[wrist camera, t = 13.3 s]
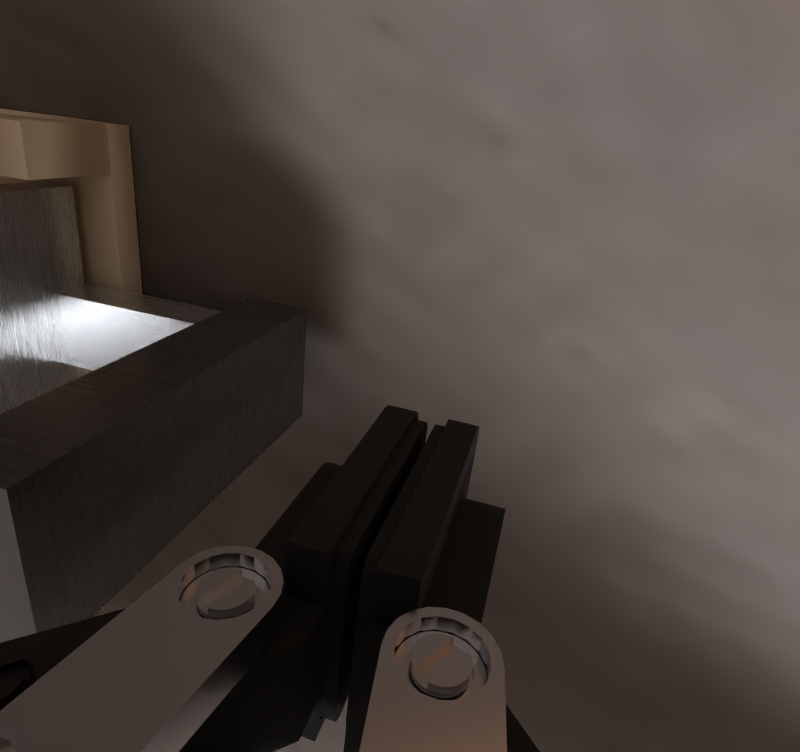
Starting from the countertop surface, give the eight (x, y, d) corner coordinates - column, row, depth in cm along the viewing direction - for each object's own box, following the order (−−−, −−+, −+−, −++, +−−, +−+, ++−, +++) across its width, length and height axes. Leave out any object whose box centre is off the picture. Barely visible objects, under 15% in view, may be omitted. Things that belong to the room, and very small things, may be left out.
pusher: (309, 224, 14) (-28, 326, 6) (299, 478, 16) (62, 758, 9) (41, 181, 15) (-478, 217, 8) (75, 418, 18) (-279, 609, 11)
